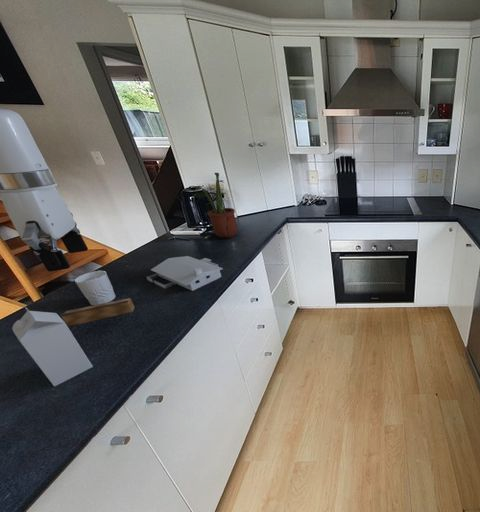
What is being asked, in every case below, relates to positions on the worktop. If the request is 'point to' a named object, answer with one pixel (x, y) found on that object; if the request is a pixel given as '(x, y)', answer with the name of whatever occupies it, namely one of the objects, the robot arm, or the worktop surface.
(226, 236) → the potted plant
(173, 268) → the grey portable case
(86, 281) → the white cup
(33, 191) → the robot arm
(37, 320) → the milk carton
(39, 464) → the worktop surface
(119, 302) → the rail
